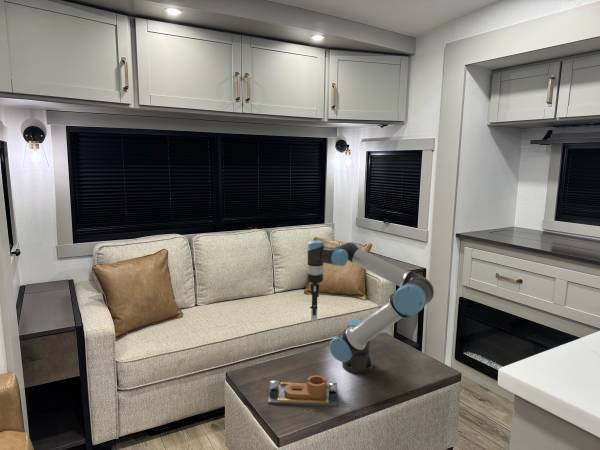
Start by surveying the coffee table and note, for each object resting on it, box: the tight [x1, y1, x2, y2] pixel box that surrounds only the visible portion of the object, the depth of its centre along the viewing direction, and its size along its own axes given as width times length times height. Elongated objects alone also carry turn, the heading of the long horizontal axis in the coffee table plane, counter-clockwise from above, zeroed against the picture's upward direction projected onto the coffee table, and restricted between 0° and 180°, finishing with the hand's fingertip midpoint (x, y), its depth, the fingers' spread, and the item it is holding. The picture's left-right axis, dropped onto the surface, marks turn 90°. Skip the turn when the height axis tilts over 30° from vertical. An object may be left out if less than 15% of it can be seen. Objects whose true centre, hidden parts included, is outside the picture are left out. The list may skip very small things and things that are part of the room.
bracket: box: [284, 374, 327, 400], centre depth 175 cm, size 18×8×7 cm, turn 88°
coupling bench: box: [267, 380, 338, 407], centre depth 176 cm, size 29×13×6 cm, turn 87°
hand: (314, 315), depth 197 cm, fingers open, 13 cm apart
